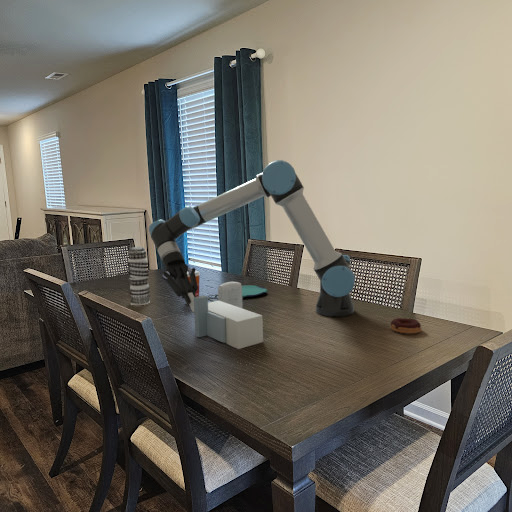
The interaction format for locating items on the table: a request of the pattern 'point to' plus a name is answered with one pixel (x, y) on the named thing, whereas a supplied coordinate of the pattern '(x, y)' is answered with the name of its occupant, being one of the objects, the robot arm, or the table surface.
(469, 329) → the table surface
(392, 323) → the donut
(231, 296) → the grey gravestone
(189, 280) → the paper cup
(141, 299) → the decorative candle
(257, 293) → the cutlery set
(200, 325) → the side door
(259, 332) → the white rectangular block
